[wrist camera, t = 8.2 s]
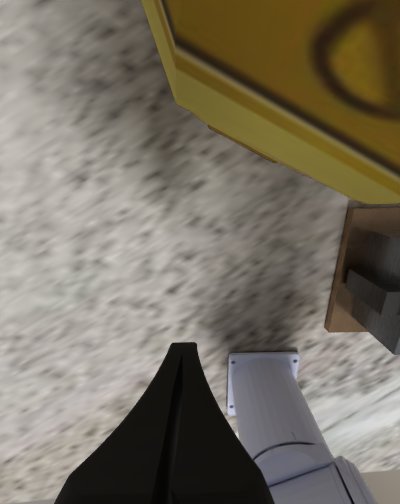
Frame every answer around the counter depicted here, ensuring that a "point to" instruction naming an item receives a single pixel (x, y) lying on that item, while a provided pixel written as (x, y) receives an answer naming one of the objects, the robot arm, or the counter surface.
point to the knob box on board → (368, 276)
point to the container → (293, 83)
